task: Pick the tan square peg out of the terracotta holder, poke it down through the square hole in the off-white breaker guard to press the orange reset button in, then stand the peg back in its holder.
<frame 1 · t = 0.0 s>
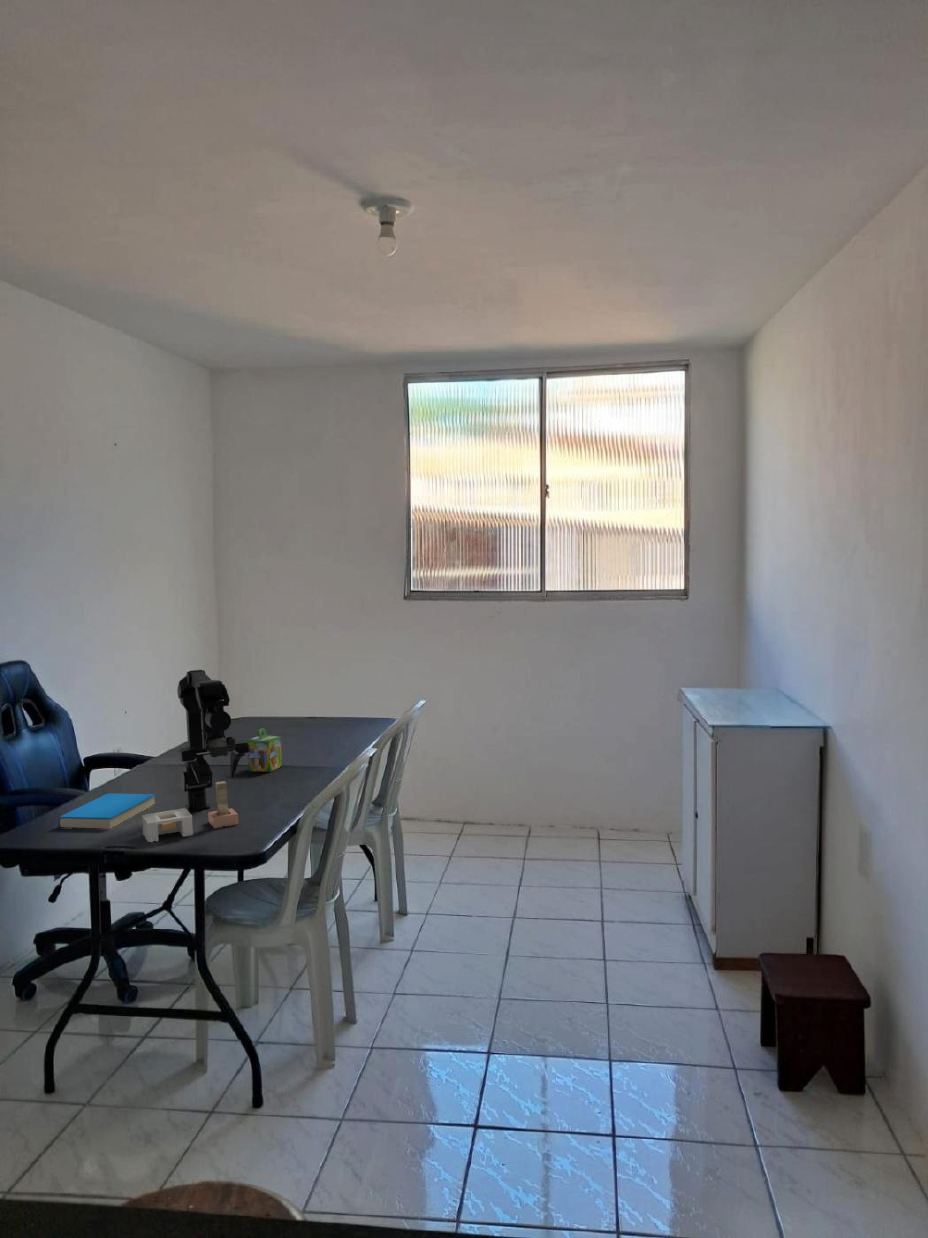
hand: (216, 780, 257), 15 cm above the table, tool pointing down, fingers open, 9 cm apart
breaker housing: (168, 835, 256), on the table
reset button: (168, 824, 256), point 3 cm above the table, slide at 0.0 cm
book: (109, 818, 278), on the table
tan square peg: (222, 803, 266), in the stylus holder
stylus holder: (223, 823, 266), on the table
printed toy box: (265, 769, 331), on the table
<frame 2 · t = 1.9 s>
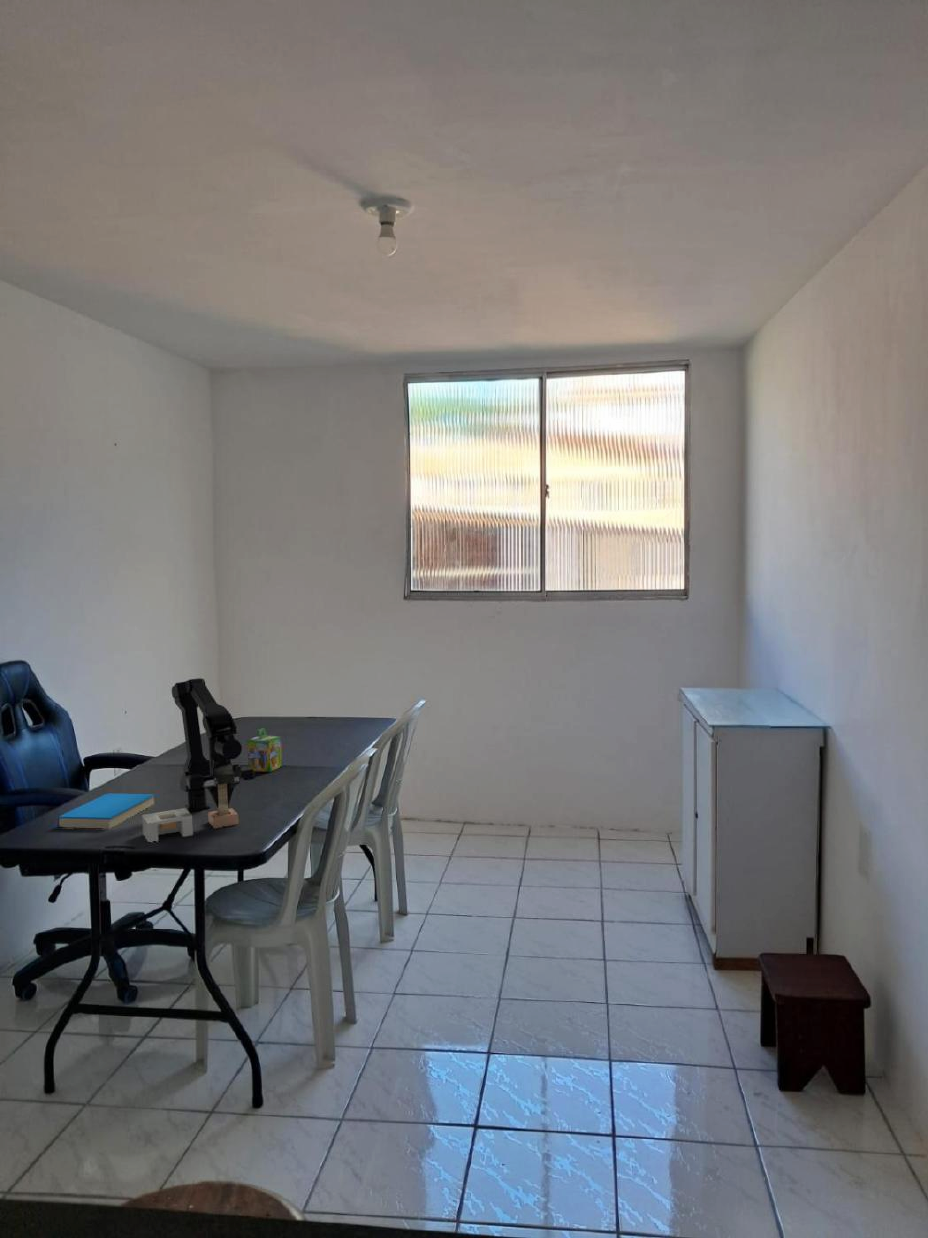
hand: (222, 806, 266), 5 cm above the table, tool pointing down, fingers closed on tan square peg, 3 cm apart
tan square peg: (222, 803, 266), in the stylus holder, touching gripper
everything else where it was.
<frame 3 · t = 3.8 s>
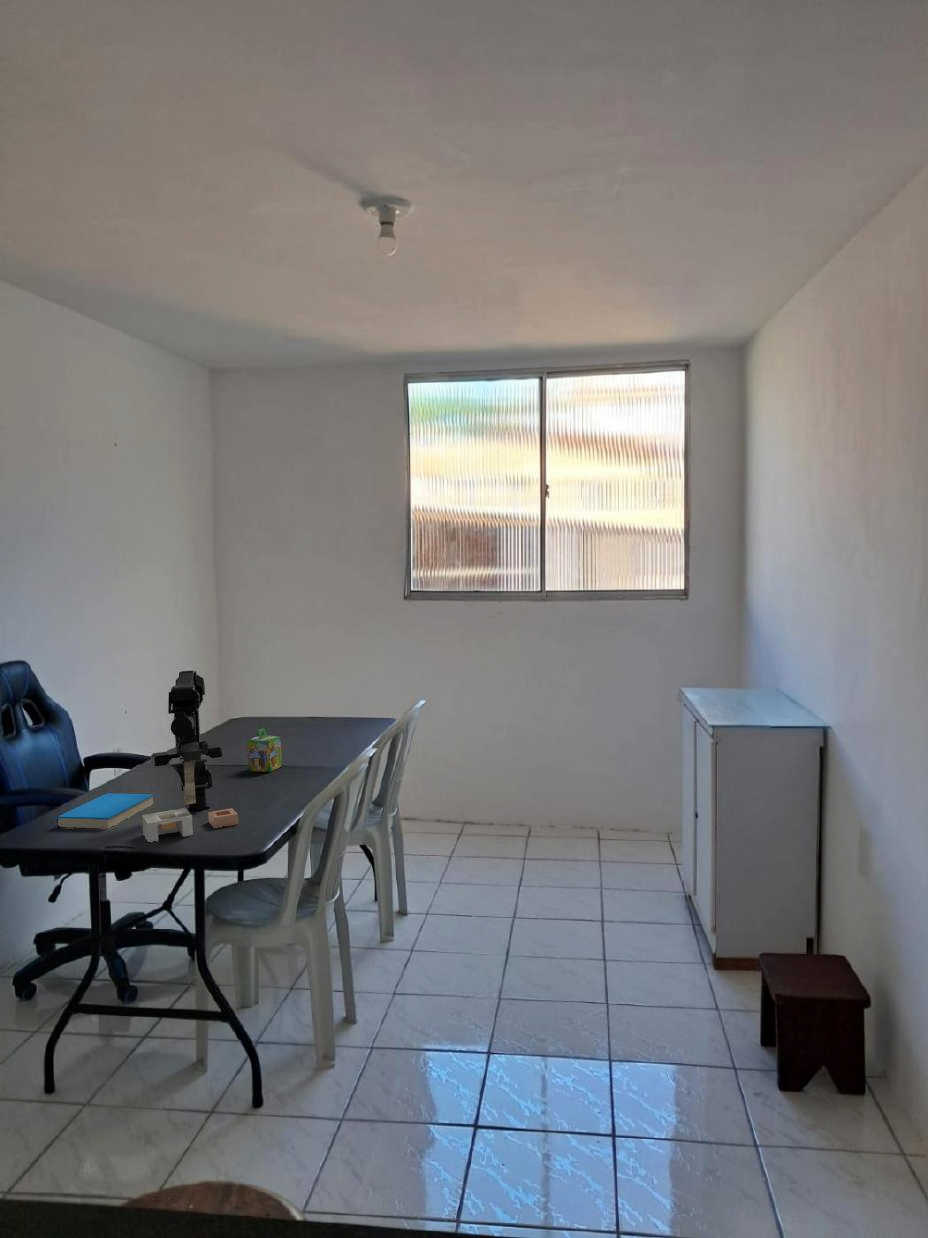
hand: (188, 785, 259), 13 cm above the table, tool pointing down, fingers closed on tan square peg, 3 cm apart
tan square peg: (188, 782, 259), point 14 cm above the table, touching gripper
everything else where it was.
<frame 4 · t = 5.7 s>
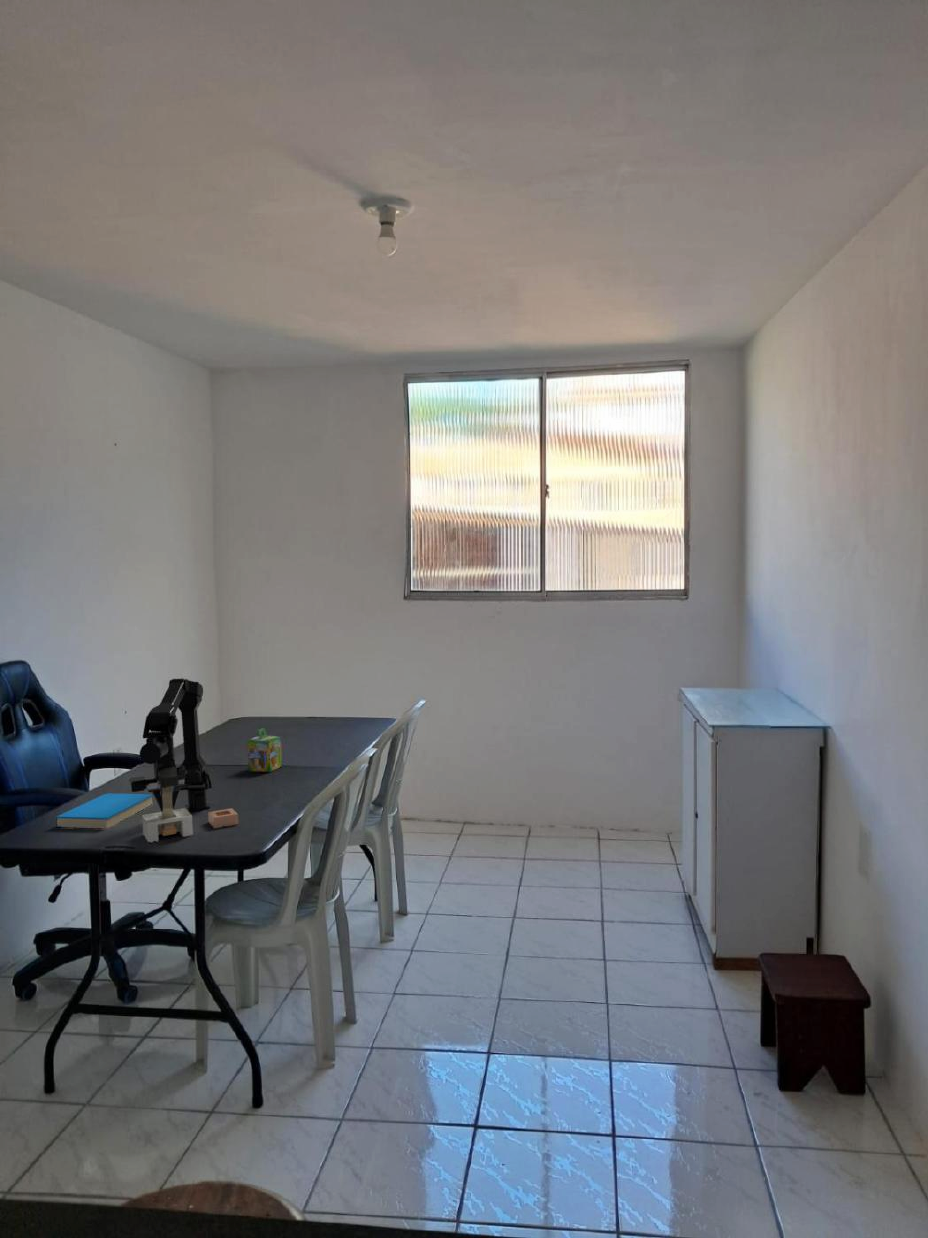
hand: (167, 810, 255), 7 cm above the table, tool pointing down, fingers closed on tan square peg, 3 cm apart
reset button: (168, 830, 256), point 2 cm above the table, slide at 1.7 cm, touching tan square peg
tan square peg: (167, 807, 255), point 8 cm above the table, touching gripper, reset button
everything else where it was.
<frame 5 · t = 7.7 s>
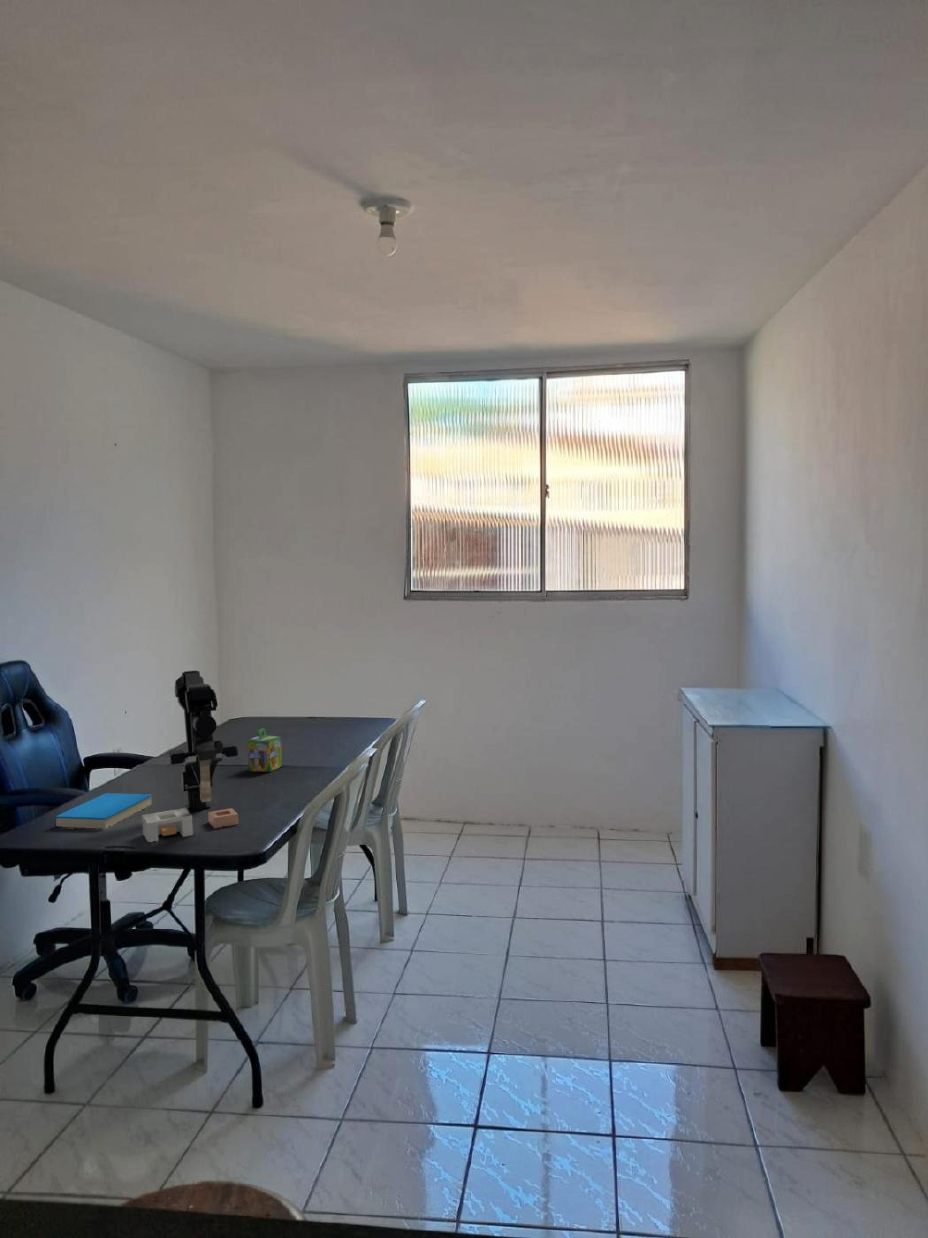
hand: (204, 783, 262), 13 cm above the table, tool pointing down, fingers closed on tan square peg, 3 cm apart
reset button: (168, 830, 256), point 2 cm above the table, slide at 1.7 cm
tan square peg: (204, 780, 262), point 14 cm above the table, touching gripper
when the fingers open (6 cm above the table, at t = 9.7 s): tan square peg stays where it is, resting in stylus holder.
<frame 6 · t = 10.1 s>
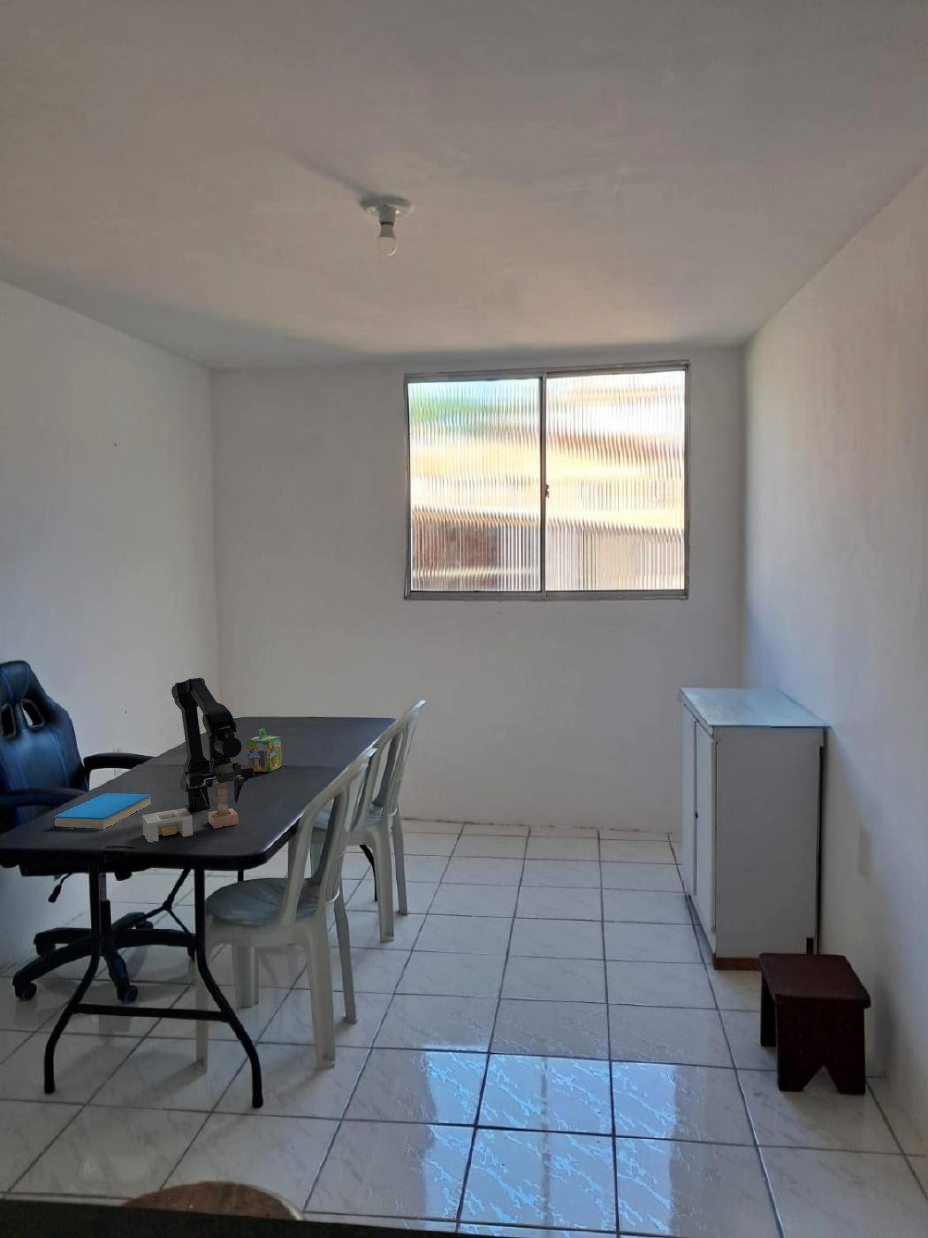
hand: (222, 804, 266), 6 cm above the table, tool pointing down, fingers open, 8 cm apart
tan square peg: (222, 803, 266), in the stylus holder
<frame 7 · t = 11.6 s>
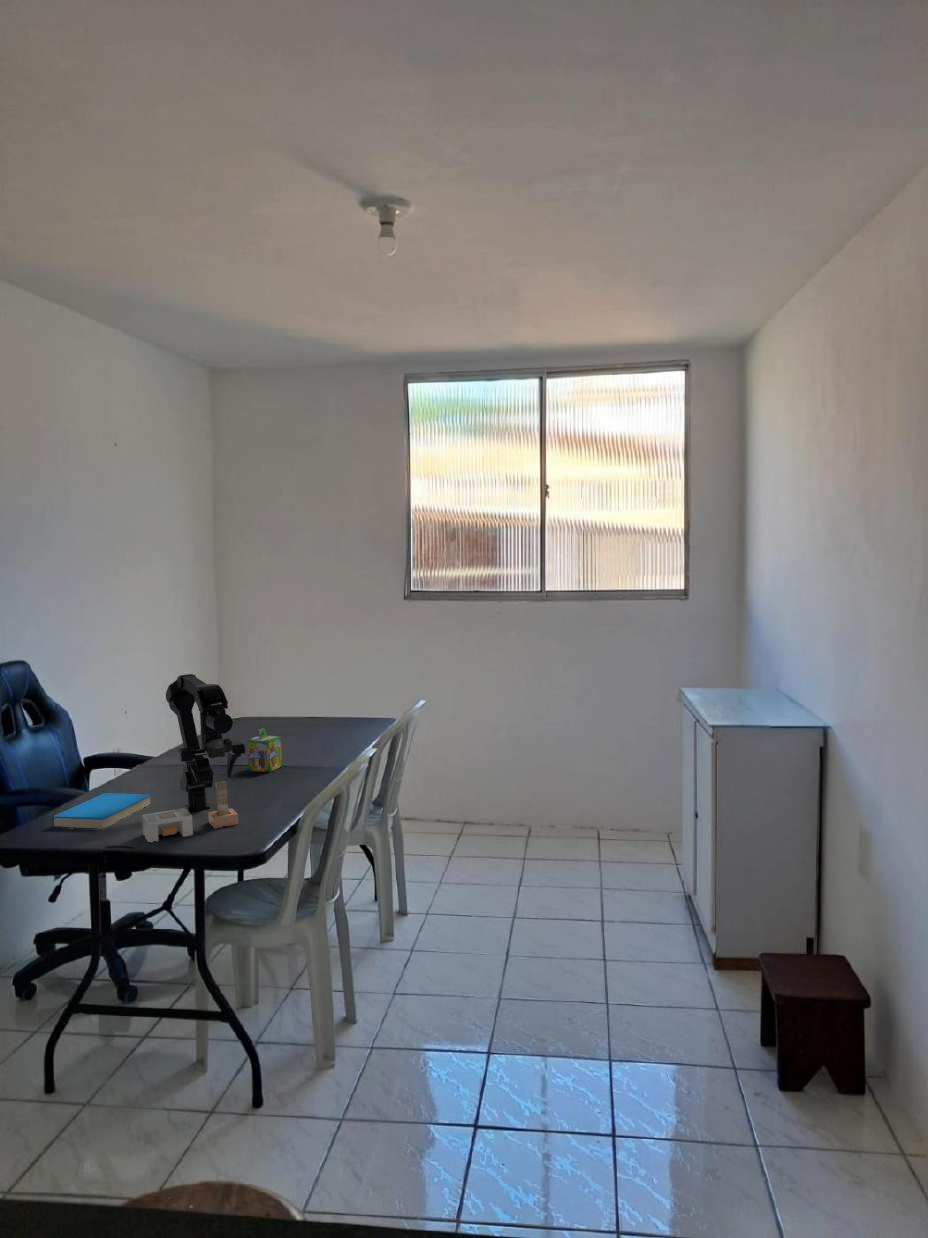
hand: (213, 779, 270), 12 cm above the table, tool pointing down, fingers open, 9 cm apart
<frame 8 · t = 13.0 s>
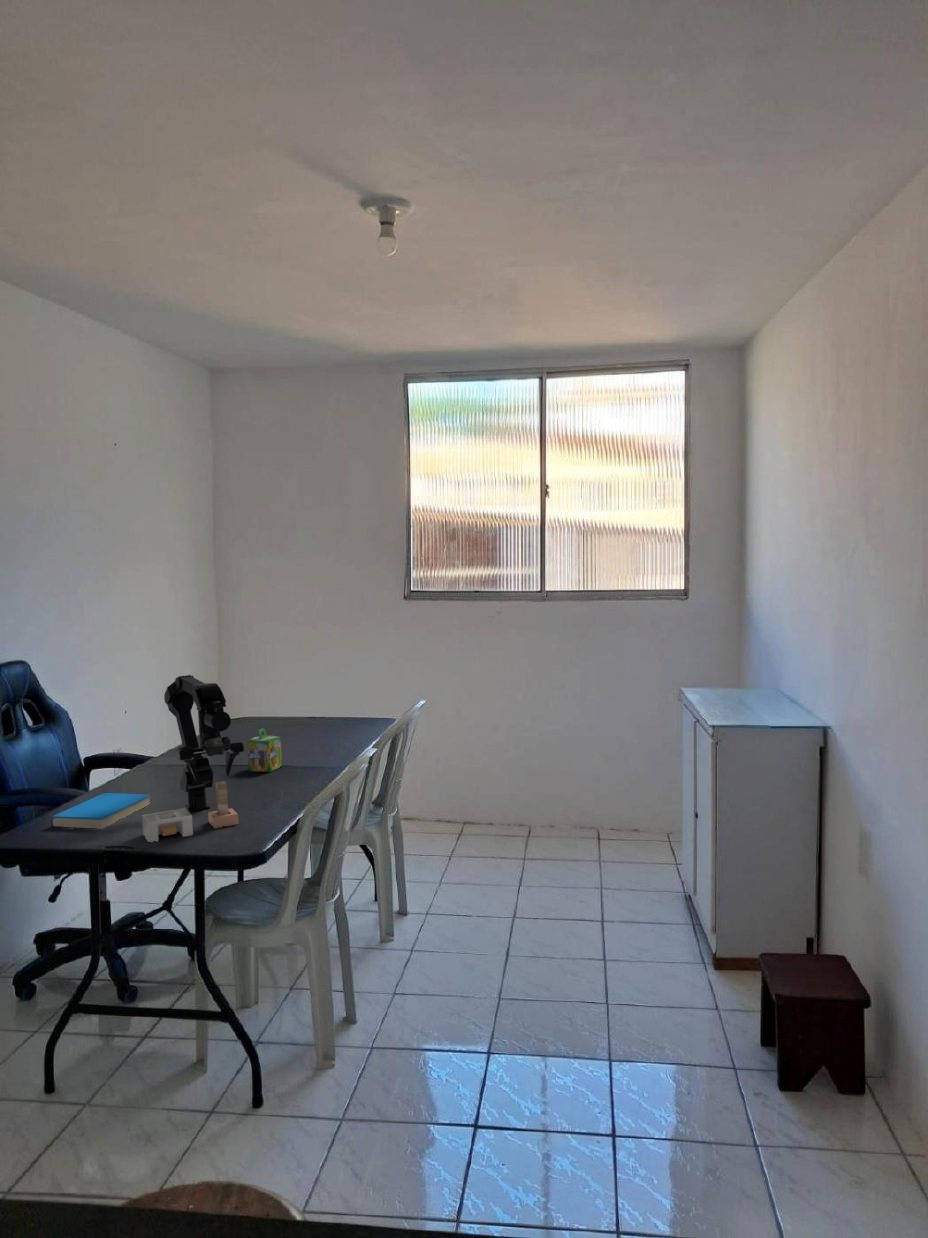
hand: (212, 778, 271), 12 cm above the table, tool pointing down, fingers open, 9 cm apart
at the end: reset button slide at 1.7 cm; tan square peg 0.1 cm off-centre on the stylus holder, point 6.0 cm above the stylus holder's base; tan square peg tilted 0° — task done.
